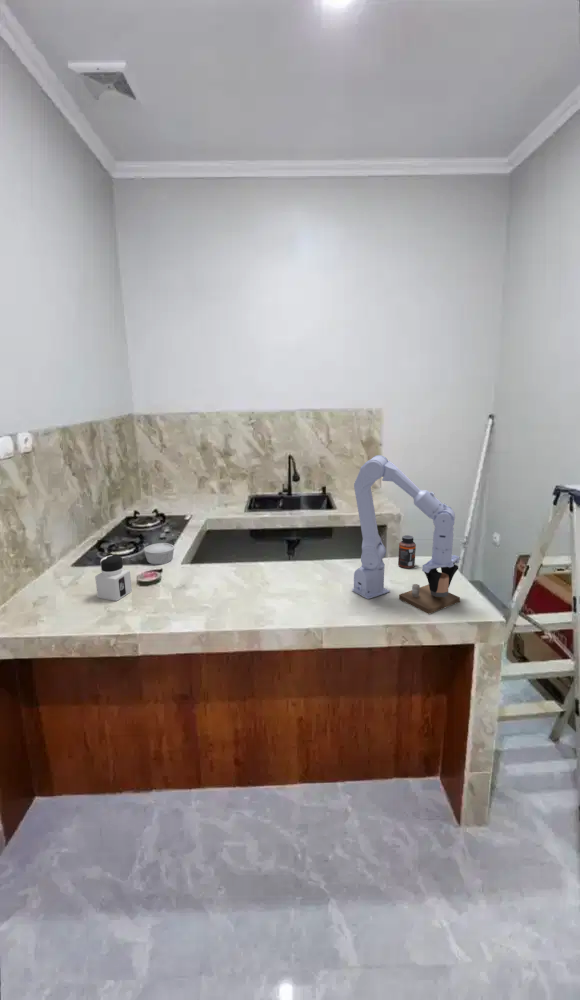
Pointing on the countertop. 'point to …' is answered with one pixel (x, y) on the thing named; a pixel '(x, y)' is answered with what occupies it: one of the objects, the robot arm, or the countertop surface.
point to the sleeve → (442, 586)
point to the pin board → (427, 599)
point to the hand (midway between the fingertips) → (439, 588)
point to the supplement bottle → (407, 552)
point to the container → (113, 579)
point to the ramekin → (159, 553)
